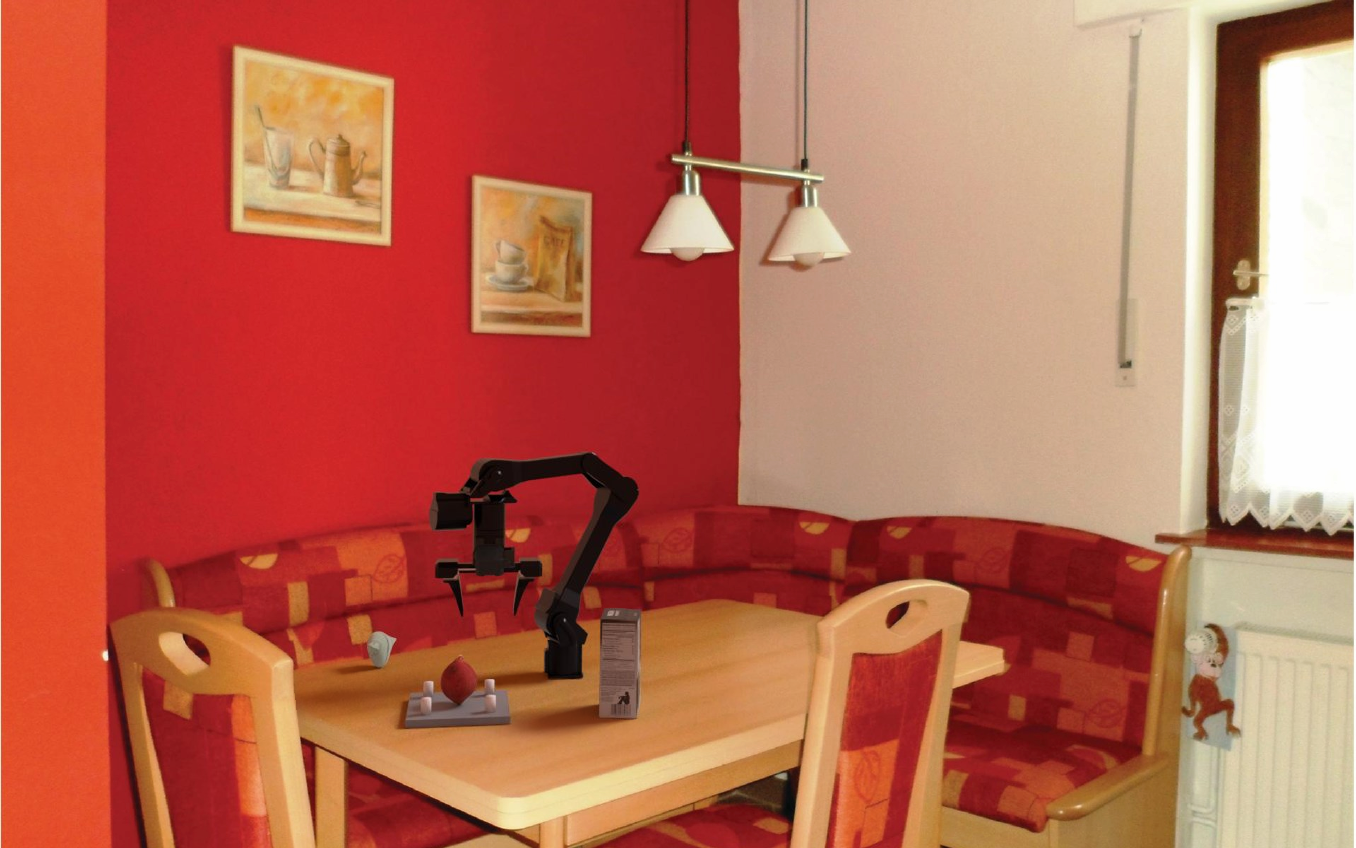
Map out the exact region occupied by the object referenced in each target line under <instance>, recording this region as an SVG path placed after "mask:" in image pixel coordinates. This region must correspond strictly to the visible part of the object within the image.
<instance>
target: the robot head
mask: <svg viewBox="0 0 1356 848" xmlns="http://www.w3.org/2000/svg"><path fill="white" fill-rule="evenodd" d="M396 641H397V638H395V637H392V636H390V635H388V634H386V633H384V632H383V631H374V632H373V633H371V635H369V637H368V638H367V642H366V650H367V652H368V656H369V659H370V661H371V663H372V664H373V665H374V666H375V667H376V668H380V667H381V668H382V667H384V666H385V665H386V664H387V663H388V661H389V657H390V654H391V652H392V648H393V646H394V643H395V642H396Z"/></svg>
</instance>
